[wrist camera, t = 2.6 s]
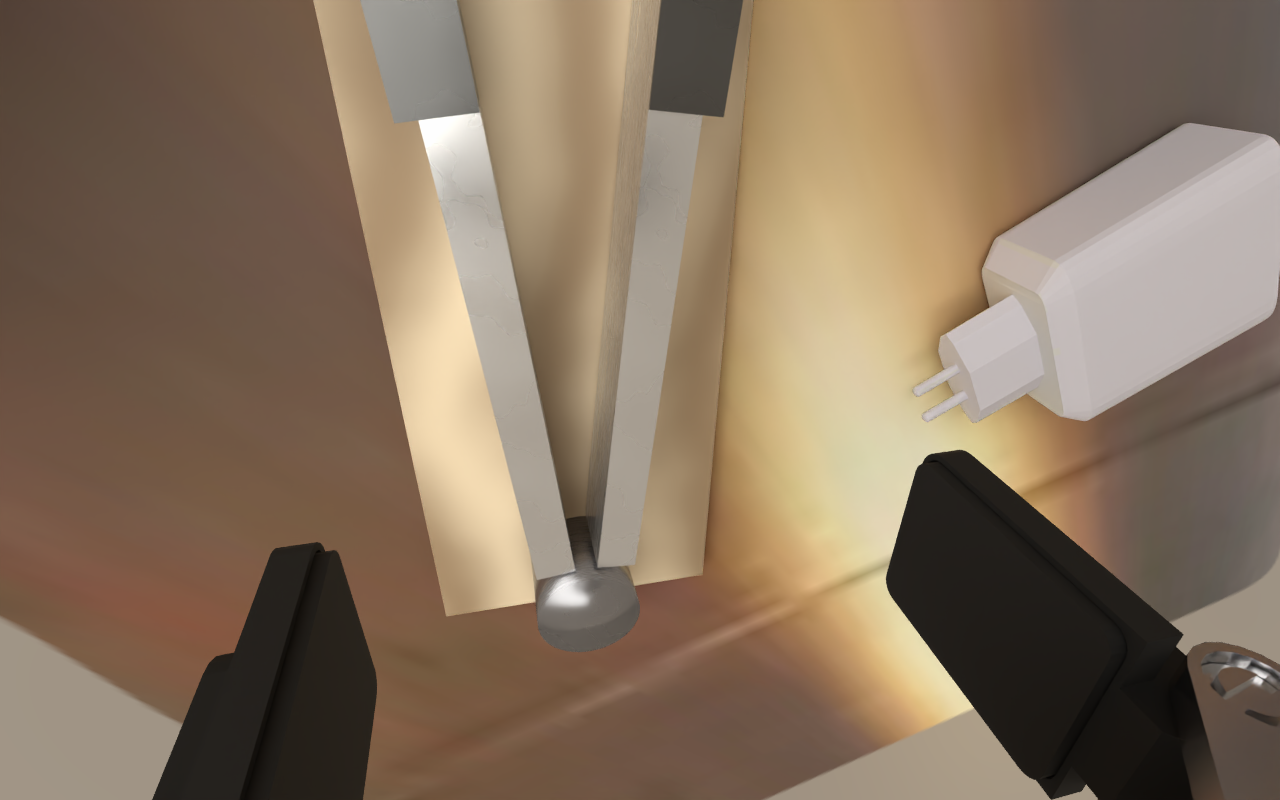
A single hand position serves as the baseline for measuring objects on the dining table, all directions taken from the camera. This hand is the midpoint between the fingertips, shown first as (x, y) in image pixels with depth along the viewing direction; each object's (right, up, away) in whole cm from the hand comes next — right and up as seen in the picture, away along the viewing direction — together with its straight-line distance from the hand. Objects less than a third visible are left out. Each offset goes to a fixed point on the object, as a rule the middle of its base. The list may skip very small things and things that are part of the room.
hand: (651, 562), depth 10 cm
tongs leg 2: (0, +7, +14) cm, 15 cm away
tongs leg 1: (-6, +7, +13) cm, 15 cm away
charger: (+18, +8, +20) cm, 28 cm away
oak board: (-3, +5, +15) cm, 17 cm away
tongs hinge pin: (-3, -5, +20) cm, 21 cm away
